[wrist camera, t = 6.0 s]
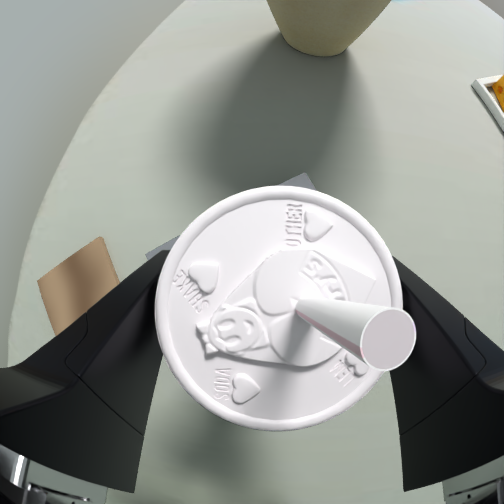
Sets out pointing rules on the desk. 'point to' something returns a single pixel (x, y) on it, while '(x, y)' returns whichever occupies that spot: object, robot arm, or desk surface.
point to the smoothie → (281, 309)
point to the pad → (77, 284)
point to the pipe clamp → (499, 91)
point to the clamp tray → (489, 97)
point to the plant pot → (324, 22)
